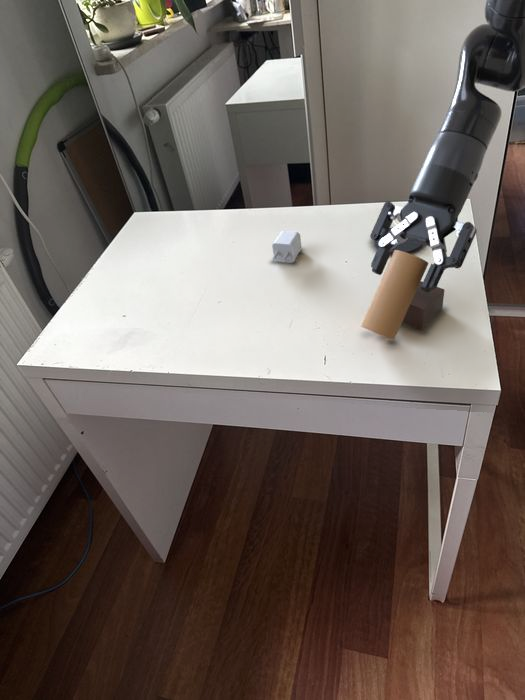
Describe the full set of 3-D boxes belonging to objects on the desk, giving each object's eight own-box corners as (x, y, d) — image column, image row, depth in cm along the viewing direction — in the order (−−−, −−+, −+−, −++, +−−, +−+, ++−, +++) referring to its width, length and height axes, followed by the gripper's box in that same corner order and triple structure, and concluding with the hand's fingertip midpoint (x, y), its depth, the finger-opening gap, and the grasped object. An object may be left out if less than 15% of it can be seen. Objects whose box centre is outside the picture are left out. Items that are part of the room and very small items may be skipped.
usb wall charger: (301, 250, 100) (299, 232, 97) (289, 271, 95) (287, 252, 93) (282, 248, 101) (279, 230, 99) (269, 268, 97) (266, 250, 94)
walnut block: (397, 293, 86) (398, 273, 83) (442, 309, 82) (444, 289, 79) (377, 312, 83) (377, 292, 81) (422, 330, 79) (423, 310, 76)
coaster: (427, 231, 98) (428, 228, 98) (418, 257, 93) (418, 254, 92) (380, 227, 102) (380, 225, 101) (368, 252, 96) (368, 249, 96)
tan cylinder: (400, 300, 85) (402, 235, 76) (429, 311, 82) (435, 244, 73) (355, 342, 79) (353, 276, 71) (385, 355, 76) (386, 288, 68)
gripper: (394, 154, 75) (348, 261, 77) (491, 173, 66) (436, 292, 69) (412, 174, 81) (369, 273, 83) (503, 194, 72) (452, 303, 75)
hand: (399, 281), depth 76 cm, fingers open, 7 cm apart
